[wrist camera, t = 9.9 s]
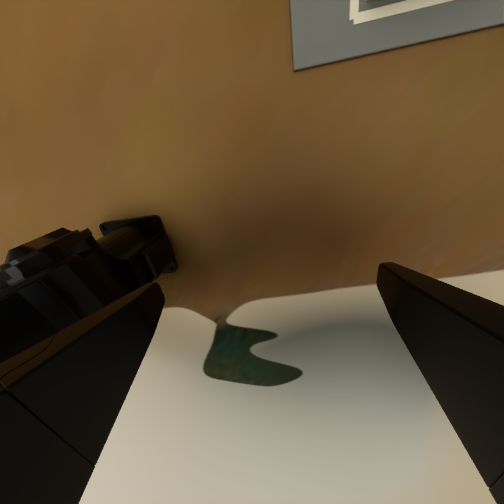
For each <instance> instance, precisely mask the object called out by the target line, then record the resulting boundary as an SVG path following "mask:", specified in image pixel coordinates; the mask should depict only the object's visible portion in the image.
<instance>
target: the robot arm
mask: <svg viewBox="0 0 504 504" xmlns="http://www.w3.org/2000/svg"><path fill="white" fill-rule="evenodd" d="M153 219H155V220H156V222H154V221H153ZM105 226H106V228H107V229H106V228H105ZM99 227H100V230H101V232H102V234H103V235H104V236H103V237H101V238H100V239H98V240H95V239H94V238H93V236H92V233H91V231H90V230H89V229H88V228H87V229H84V230H82V231H80V232H79V231H78V230H75V231H70V230H67V229H65V228H60V229H58V230H56V231H53V232H51V233H49V234H46V235H44V236H42V237H39V238H37V239H35V240H32V241H30V242H28V243H25V244H23V245H21V246H18V247H16V248H14V249H11V250H9V251H8V253H7V256H6V260H5V263H4V264H2V265H0V504H79V501H80V499H81V497H82V495H83V492H84V490H85V488H86V485H87V484H88V481H89V479H90V477H91V475H92V472H93V470H94V468H95V465H96V463H97V461H98V459H99V456H100V454H101V452H102V450H103V447H104V445H105V443H106V441H107V438H108V436H109V434H110V431H111V429H112V427H113V425H114V423H115V420H116V418H117V416H118V414H119V412H120V409H121V407H122V405H123V403H124V400H125V398H126V396H127V394H128V392H129V389H130V387H131V385H132V383H133V380H134V378H135V376H136V374H137V371H138V369H139V367H140V365H141V362H142V360H143V358H144V356H145V354H146V351H147V349H148V347H149V344H150V342H151V340H152V338H153V335H154V333H155V330H156V327H157V324H158V321H159V318H160V315H161V312H162V309H163V306H164V303H165V297H164V294H163V292H162V290H161V288H160V285H159V284H158V283H156V282H154V283H152V282H153V280H154V279H157V278H158V277H159V276H160V275H161V273H172V272H175V271H176V270H177V269H178V266H177V263H176V260H175V258H174V257H175V255H174V252H173V250H172V247H171V244H170V242H169V239H168V236H167V235H166V234H165V231H164V228H163V226H162V223H161V220H160V218H159V217H158V216H156V215H152V216H144V217H137V218H130V219H123V220H115V221H108V222H103V223H101V224H100V225H99ZM172 267H174V268H172ZM377 287H378V290H379V292H380V294H381V297H382V299H383V301H384V304H385V306H386V308H387V311H388V313H389V315H390V318H391V319H392V322H393V324H394V326H395V327H396V329H397V331H398V333H399V334H400V336H401V338H402V339H403V341H404V343H405V345H406V347H407V348H408V350H409V352H410V354H411V355H412V357H413V359H414V360H415V362H416V364H417V366H418V367H419V369H420V371H421V373H422V374H423V376H424V378H425V379H426V381H427V383H428V385H429V386H430V388H431V390H432V391H433V393H434V395H435V397H436V398H437V400H438V402H439V404H440V405H441V407H442V409H443V411H444V412H445V414H446V416H447V418H448V419H449V421H450V423H451V424H452V426H453V428H454V430H455V431H456V433H457V435H458V437H459V438H460V440H461V442H462V444H463V445H464V447H465V448H466V450H467V452H468V454H469V456H470V457H471V459H472V460H473V462H474V464H475V466H476V468H477V469H478V471H479V473H480V475H481V476H482V478H483V480H484V482H485V483H486V485H487V486H488V487H489V491H490V492H491V494H492V496H493V497H494V499H495V501H496V503H497V504H504V306H503V305H500V304H498V303H495V302H493V301H490V300H488V299H485V298H483V297H480V296H477V295H475V294H472V293H470V292H467V291H465V290H462V289H460V288H457V287H454V286H452V285H449V284H447V283H444V282H442V281H439V280H437V279H434V278H431V277H429V276H426V275H424V274H421V273H419V272H416V271H414V270H411V269H408V268H406V267H403V266H401V265H398V264H396V263H393V262H387V263H381V264H379V267H378V274H377Z"/></svg>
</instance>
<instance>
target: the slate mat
mask: <svg viewBox="0 0 504 504" xmlns="http://www.w3.org/2000/svg"><path fill="white" fill-rule="evenodd" d="M290 16H291V34H292V52H293V70H294V71H297V70H302V69H306V68H311V67H315V66H320V65H324V64H329V63H333V62H338V61H342V60H347V59H351V58H356V57H360V56H365V55H369V54H373V53H378V52H382V51H387V50H391V49H396V48H400V47H405V46H409V45H414V44H418V43H423V42H427V41H432V40H436V39H441V38H445V37H450V36H454V35H459V34H463V33H467V32H472V31H476V30H481V29H485V28H490V27H494V26H499V25H503V24H504V0H369V1H366V0H290Z"/></svg>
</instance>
